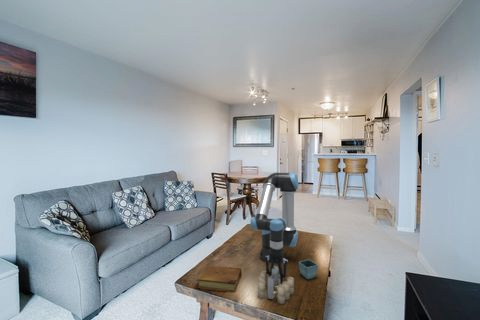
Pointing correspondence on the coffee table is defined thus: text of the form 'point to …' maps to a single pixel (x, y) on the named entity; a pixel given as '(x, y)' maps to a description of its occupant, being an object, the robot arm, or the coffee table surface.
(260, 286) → the posts
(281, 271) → the robot arm
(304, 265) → the flower pot
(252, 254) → the coffee table surface
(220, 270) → the diary
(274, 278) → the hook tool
